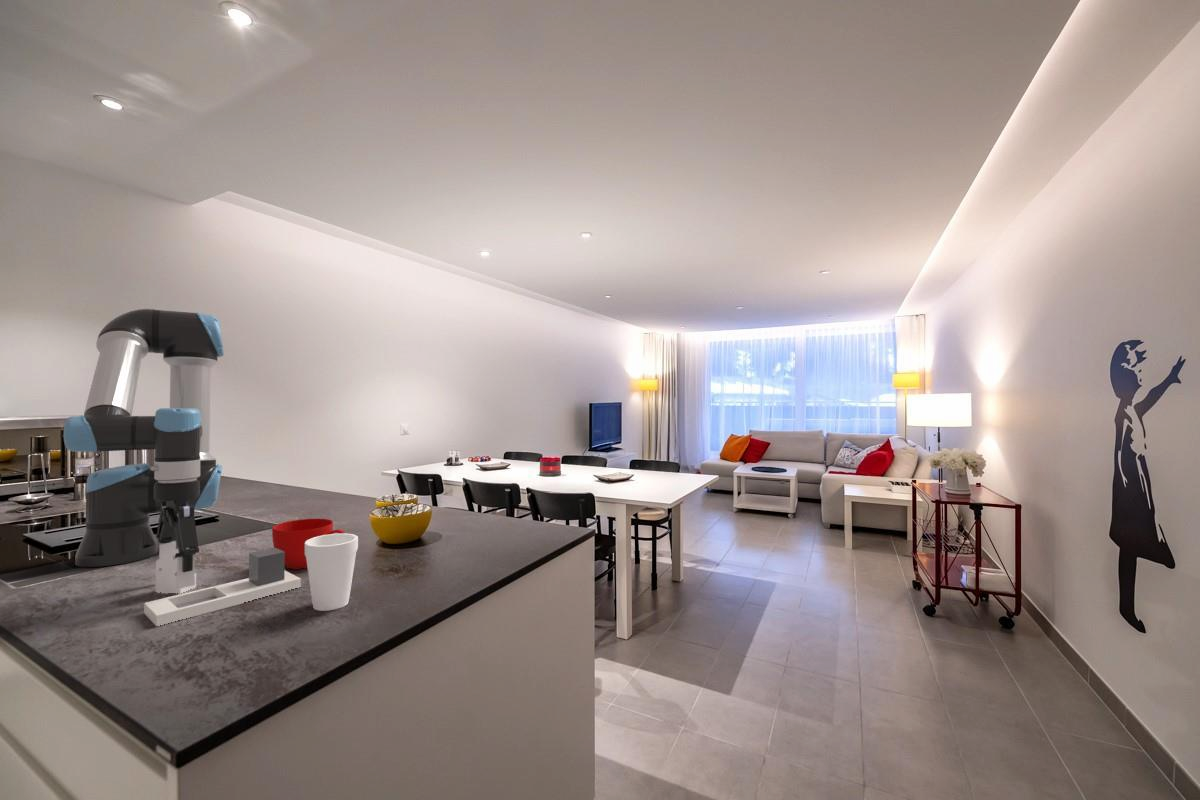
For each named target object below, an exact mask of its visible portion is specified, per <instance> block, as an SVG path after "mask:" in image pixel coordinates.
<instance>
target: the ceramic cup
mask: <svg viewBox="0 0 1200 800" xmlns="http://www.w3.org/2000/svg"><path fill="white" fill-rule="evenodd" d="M333 529H334V521H333V520H331V519H327V518H301V519H294V520H290V521H285V522H284V521H283V522H280V523H277V524H276V525H274V526H273V527H272V529H271V532H272V534H271V535H272V536H271V537H272V544H273V545H272V546H273V548H277V549H279V550H281V551H284V552H285V566H286V567H288V568H287V569H289V568H293V569H292V570H299V569H298V568H304V569H308V568H307V560H306V556H305V542H306V541H307V540H309V539H311V538H314V537H318V536H322V535H329V534H344V533H345V531H344V530H342V529H340V528H338V529H334V530H333Z"/></svg>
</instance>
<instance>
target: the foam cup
mask: <svg viewBox="0 0 1200 800" xmlns="http://www.w3.org/2000/svg"><path fill="white" fill-rule="evenodd" d="M358 550H359V536H358V535H356V534H354V533H344V534H340V533H333V534H329V535H322V536H318V537H314V538H311V539H309V540H307V541H306V542H305V556H306V560H307V568H306V569H307V574H308V581H309V582H308V583H309V589H310V595H311V596H310V597H311V602H312V608H313V609H314V610H315V611H321V612H325V611H326V612H328V611H334V610H338V609H341V608H343V607H345V606H346V605H348V604H349V601H350V595H351V591H352V590H351V589H352V583H353V582H352V581H353V578H354V577H353V575H354V569H355V563H356V557H357V551H358Z"/></svg>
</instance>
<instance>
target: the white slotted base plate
mask: <svg viewBox="0 0 1200 800" xmlns="http://www.w3.org/2000/svg"><path fill="white" fill-rule="evenodd" d="M285 566H286V565H285V552H284V551H281V550H279V549H277V548H274V547H273V548H272V547H271V548H268V549H263V550H262V549H261V550H259V551H258V550H257V551H252V552H249V553H248V577H247V578H243V579H239V580H235V581H231V582H227V583H226V582H225V583H221V584H218V585H217V584H216V585H214V586H208V587H206V588H202V589H197V590H194V591H192V590H191V591H187V592H185V593H182V594H174V595H172V596H168V597H163V598H160V599H154V600H151V601H146V602H144V605H143V606H144V607H143V610H144V611H143V613H144V615H145V616H146V617H147V618H148V619H149V620H150V622H152V624H153V625H154V626H155V627H157V626H158V627H161V626H164V624H165V625H168V623H169V624H172V623H176V622H179V621H178V620H180V621H183V620H186V618H187V619H190V617H191V618H194V617H197V616H202V615H205V614H209V613H213V612H216V611H219V610H224V609H227V608H231V607H234V606H238V605H242V604H245V603H244V602H246V603H249V602H248V601H250V602H253V601H252V600H254V599H257V600H259V599H258V598H261V599H263V598H262V597H265V596H268V597H270V596H269V595H272V596H274V595H273V594H276V595H278V594H277V593H279V594H281V593H280V592H283V593H286V592H285V591H287V592H289V591H288V590H290V591H292V590H291V589H294V590H296V589H295V588H298V589H300V588H299V587H302V578H301V577H299V576H297V575H295V574H293V573H291V572H289V571H287V570H286V567H285ZM265 598H266V597H265ZM254 601H255V600H254ZM182 619H183V620H182ZM175 621H176V622H175ZM171 622H172V623H171ZM160 625H161V626H160Z"/></svg>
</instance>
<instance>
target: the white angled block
mask: <svg viewBox="0 0 1200 800" xmlns="http://www.w3.org/2000/svg"><path fill="white" fill-rule="evenodd" d="M186 549H188V548H186ZM176 553H179V551H178V547H176V550H174V551H172V552H171V553H169V554H167V555H165V556H164V557H162V558H160V559H159V558H158V559H157V560H155V593H156V592H157V593H156V594H168V593H176V594H175V595H180V594H181V593H182V594H184V593H183V592H185V593H187V592H189V591H191V590H190V589H192V590H194V589H196V588H197V573H196V572H195V583H194V585H193V586H189V587H184V588H180V589H177V558H175V555H176ZM195 587H196V588H195ZM193 588H194V589H193ZM188 590H189V591H188ZM186 591H187V592H186ZM160 592H161V593H160ZM177 593H178V594H177Z"/></svg>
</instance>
